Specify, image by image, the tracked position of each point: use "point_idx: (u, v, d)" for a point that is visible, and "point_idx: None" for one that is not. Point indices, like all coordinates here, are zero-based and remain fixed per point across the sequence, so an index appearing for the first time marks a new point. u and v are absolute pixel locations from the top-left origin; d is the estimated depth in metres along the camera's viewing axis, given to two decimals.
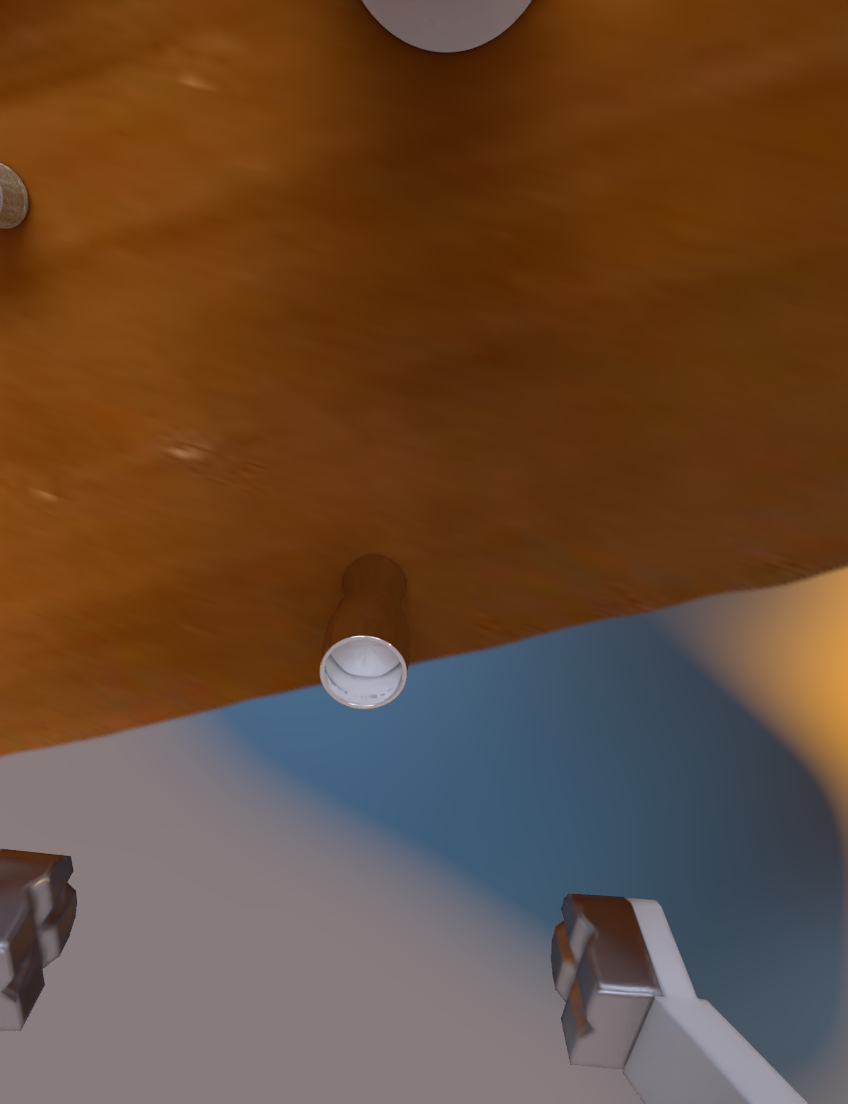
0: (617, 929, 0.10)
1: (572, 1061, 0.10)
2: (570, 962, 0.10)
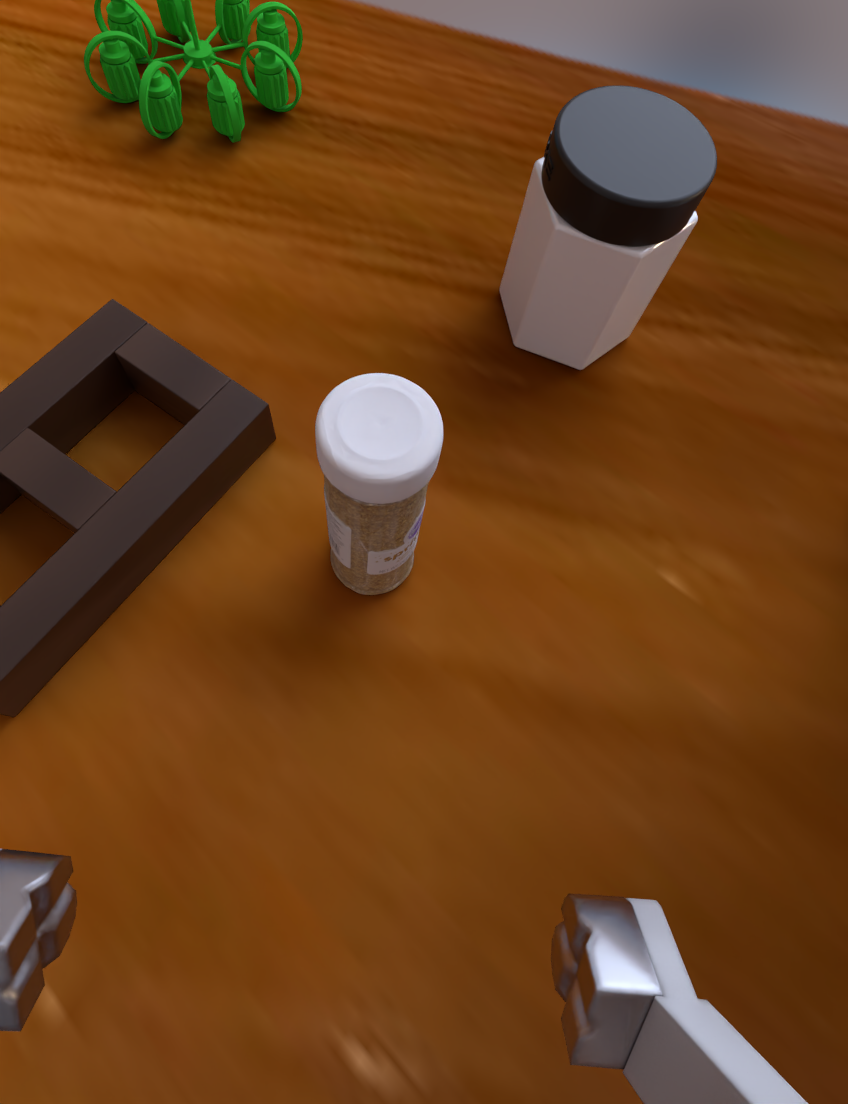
0: (617, 929, 0.10)
1: (573, 1061, 0.10)
2: (570, 962, 0.10)
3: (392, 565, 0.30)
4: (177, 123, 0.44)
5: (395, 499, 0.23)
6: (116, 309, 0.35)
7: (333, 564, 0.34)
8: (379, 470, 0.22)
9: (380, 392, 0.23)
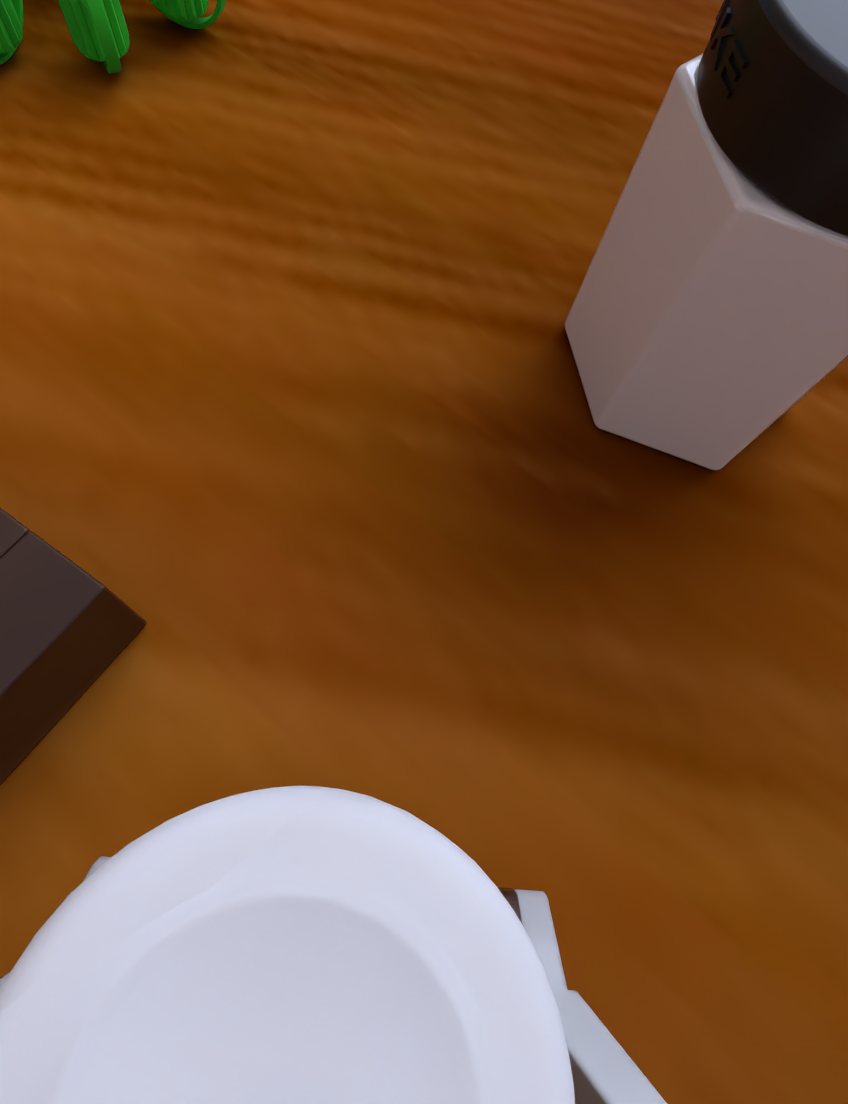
0: None
1: None
2: None
3: None
4: (11, 38, 0.26)
5: None
6: None
7: None
8: None
9: (280, 925, 0.05)
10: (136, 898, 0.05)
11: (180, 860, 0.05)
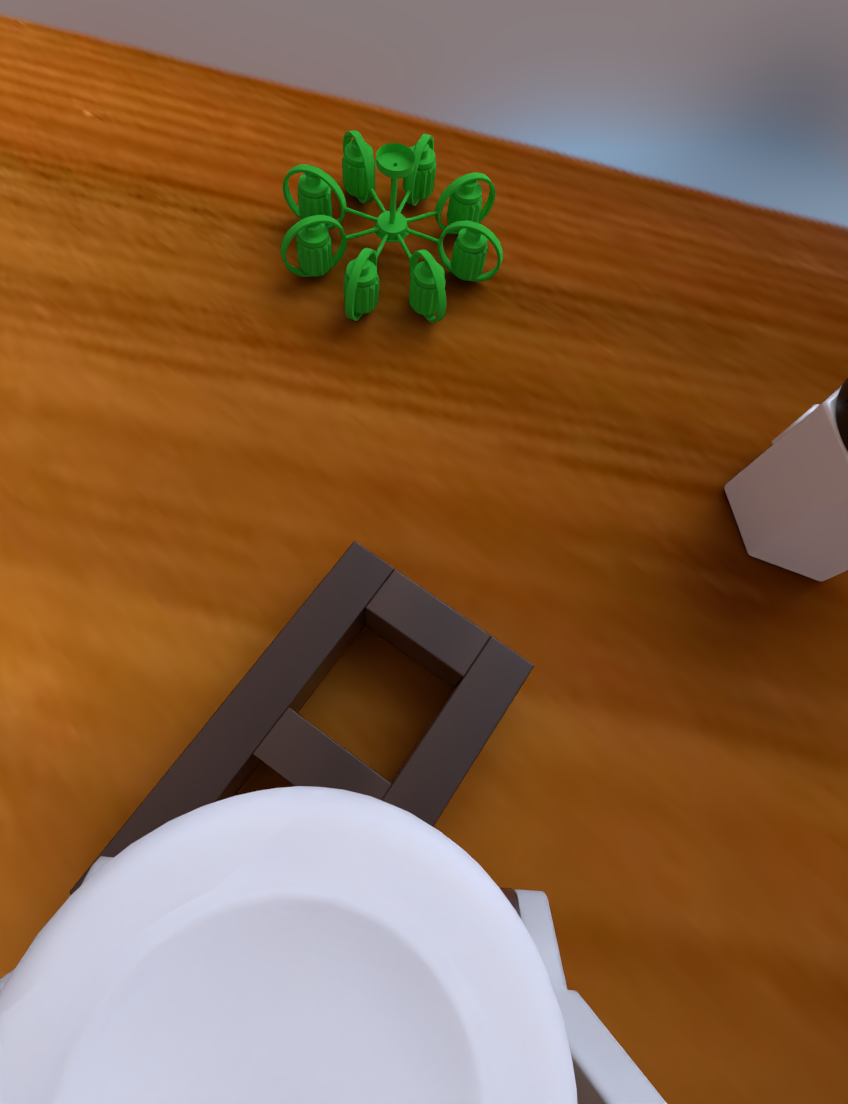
0: None
1: None
2: None
3: None
4: (373, 304, 0.41)
5: None
6: (360, 554, 0.32)
7: None
8: None
9: (282, 926, 0.05)
10: (138, 899, 0.05)
11: (182, 861, 0.05)
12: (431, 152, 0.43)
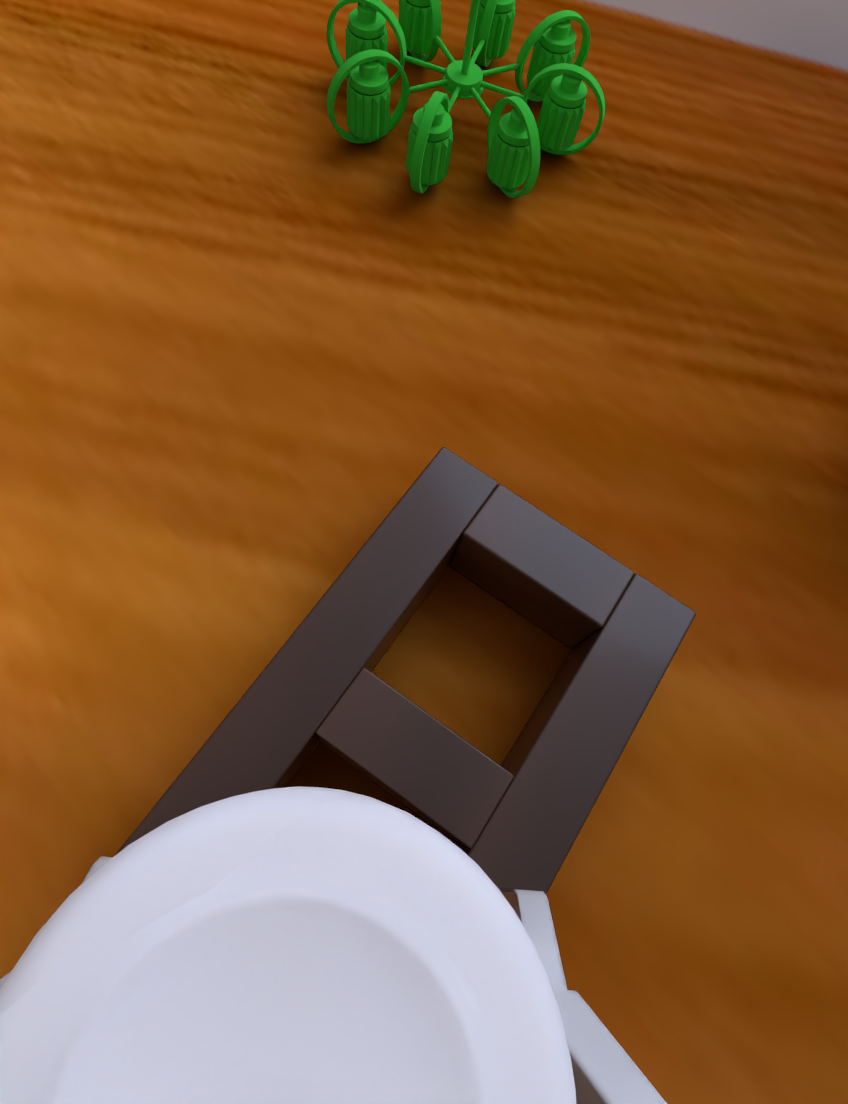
0: None
1: None
2: None
3: None
4: (443, 172, 0.32)
5: None
6: (452, 463, 0.24)
7: None
8: None
9: (281, 927, 0.05)
10: (136, 900, 0.05)
11: (180, 861, 0.05)
12: None
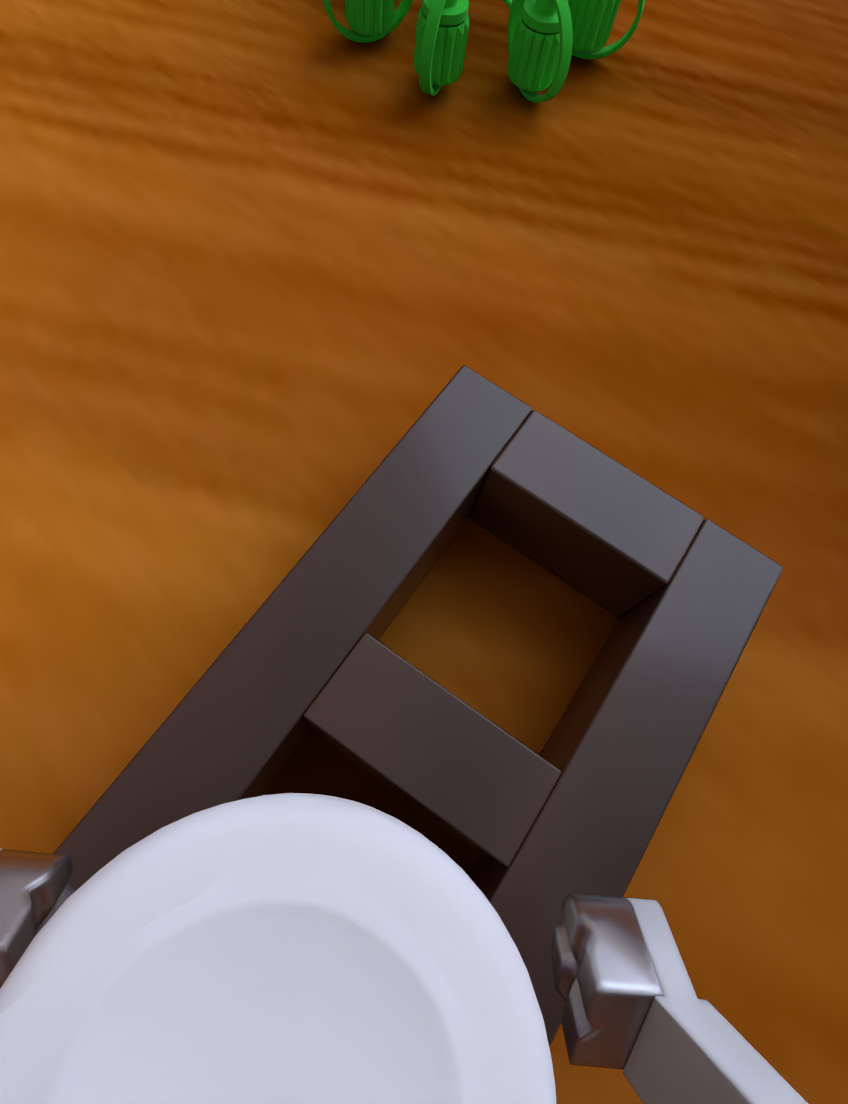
0: (617, 929, 0.10)
1: (573, 1061, 0.10)
2: (570, 962, 0.10)
3: None
4: (457, 70, 0.28)
5: None
6: (475, 385, 0.19)
7: None
8: None
9: (271, 929, 0.05)
10: (131, 904, 0.05)
11: (173, 867, 0.05)
12: None
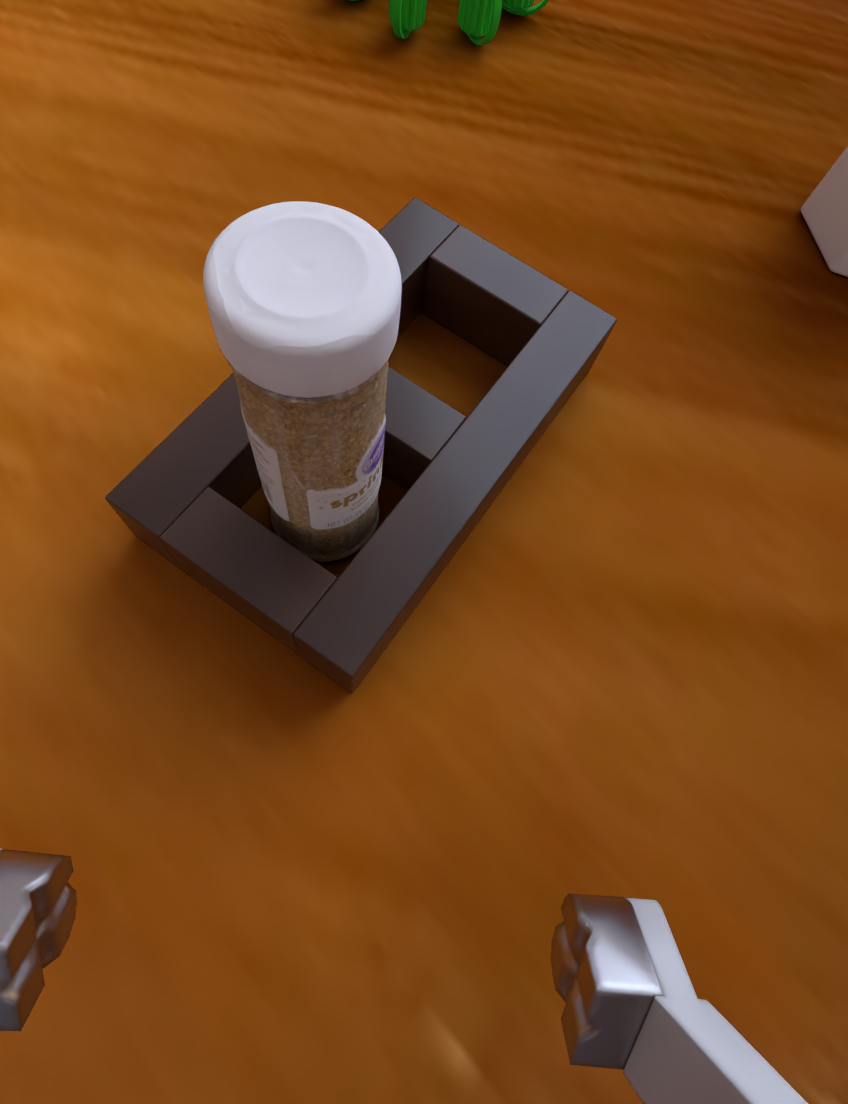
0: (617, 929, 0.10)
1: (572, 1062, 0.10)
2: (570, 962, 0.10)
3: (344, 515, 0.22)
4: (420, 20, 0.38)
5: (329, 390, 0.15)
6: (422, 209, 0.29)
7: (273, 521, 0.26)
8: (298, 333, 0.14)
9: (305, 225, 0.15)
10: (258, 215, 0.15)
11: (272, 209, 0.15)
12: None
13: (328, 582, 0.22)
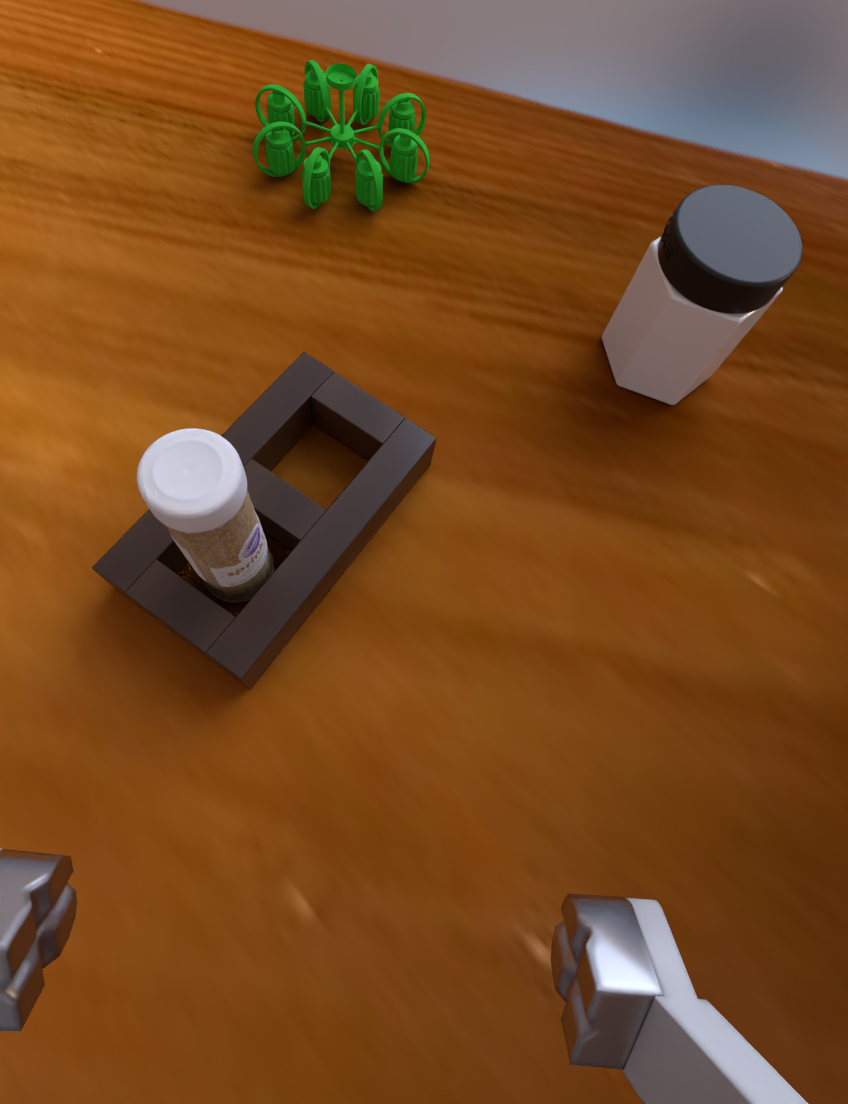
0: (617, 929, 0.10)
1: (572, 1061, 0.10)
2: (570, 962, 0.10)
3: (239, 579, 0.36)
4: (327, 195, 0.52)
5: (204, 529, 0.29)
6: (308, 360, 0.43)
7: None
8: (183, 507, 0.28)
9: (191, 444, 0.29)
10: (166, 439, 0.29)
11: (174, 435, 0.29)
12: (375, 79, 0.54)
13: (229, 620, 0.36)
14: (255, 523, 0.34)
